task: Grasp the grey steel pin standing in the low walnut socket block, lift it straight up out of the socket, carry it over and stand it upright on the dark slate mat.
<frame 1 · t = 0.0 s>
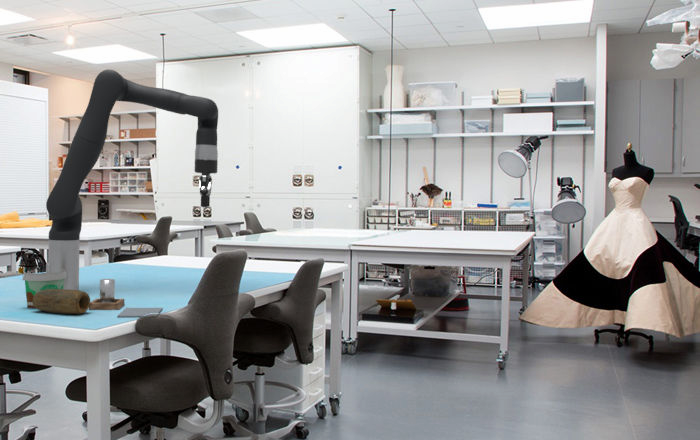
hand: (205, 206, 208), 29 cm above the table, fingers open, 8 cm apart
mat: (140, 313, 170), on the table
brown wooden cylinder: (61, 313, 167), on the table
socket: (106, 307, 177), on the table
food container: (49, 307, 175), on the table
steel pin: (107, 293, 177), in the socket
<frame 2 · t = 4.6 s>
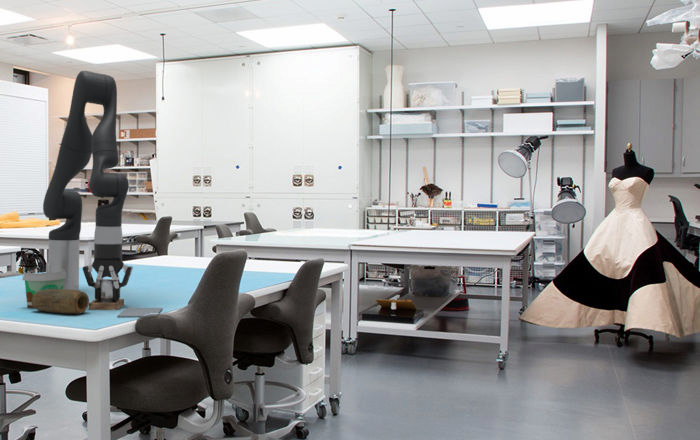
hand: (107, 300, 177), 2 cm above the table, fingers closed on steel pin, 4 cm apart
steel pin: (107, 293, 177), in the socket, touching gripper
everything else where it was.
when the fingers open (3 cm above the table, at t = 11.9 s): steel pin stays where it is, resting on mat.
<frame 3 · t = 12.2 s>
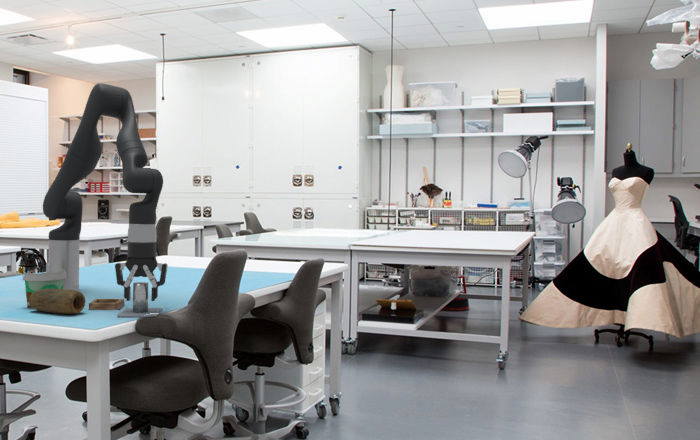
hand: (141, 300, 170), 4 cm above the table, fingers open, 6 cm apart
steel pin: (140, 297, 170), on the mat
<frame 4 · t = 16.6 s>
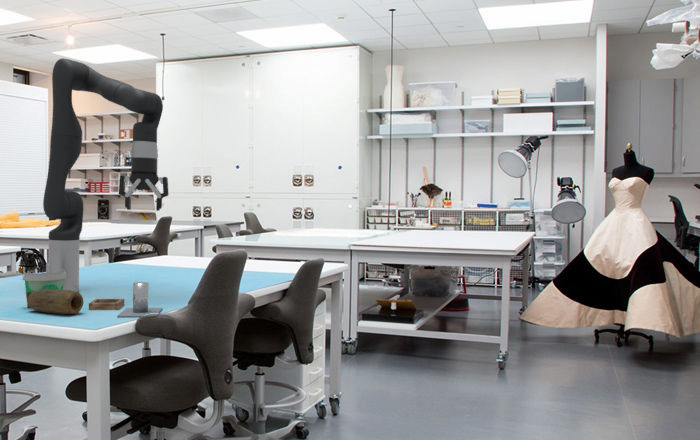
hand: (143, 210, 187), 28 cm above the table, fingers open, 8 cm apart
at the end: steel pin inside the target area on the mat (0.1 cm from its centre), point 4.4 cm above the mat's base; steel pin tilted 0°; the gripper is holding nothing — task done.
